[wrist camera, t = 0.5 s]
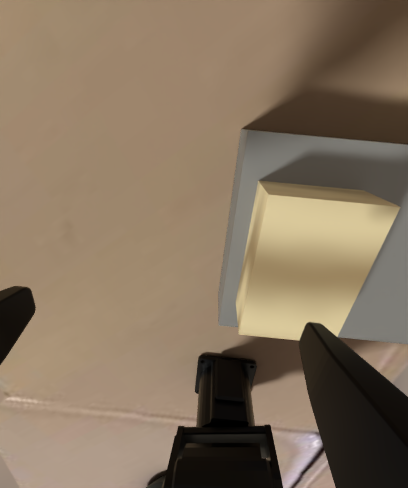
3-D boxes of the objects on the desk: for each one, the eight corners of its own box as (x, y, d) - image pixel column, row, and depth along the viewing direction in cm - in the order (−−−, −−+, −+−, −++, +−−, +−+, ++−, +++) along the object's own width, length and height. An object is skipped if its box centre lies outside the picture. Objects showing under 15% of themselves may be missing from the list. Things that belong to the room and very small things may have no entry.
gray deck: (387, 309, 22) (420, 345, 18) (218, 293, 22) (218, 325, 19) (480, 151, 16) (558, 158, 12) (241, 129, 16) (248, 130, 12)
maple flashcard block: (315, 310, 17) (333, 343, 15) (235, 302, 17) (238, 334, 15) (363, 190, 13) (400, 207, 11) (258, 180, 13) (268, 194, 11)
